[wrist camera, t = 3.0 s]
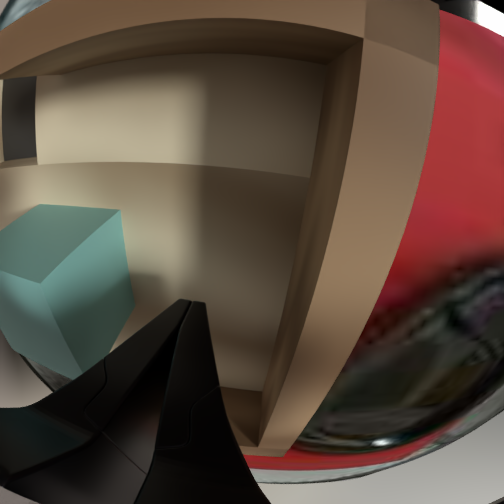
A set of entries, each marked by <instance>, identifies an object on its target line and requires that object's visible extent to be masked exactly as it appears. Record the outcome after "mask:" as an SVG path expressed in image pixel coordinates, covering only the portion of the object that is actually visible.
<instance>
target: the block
mask: <svg viewBox="0 0 504 504" xmlns="http://www.w3.org/2000/svg"><path fill="white" fill-rule="evenodd" d="M134 308H135V301H134V296H133V291H132V286H131V281H130V275H129V269H128V263H127V257H126V250H125V243H124V236H123V228H122V219H121V210H118V209H106V208H93V207H80V206H65V205H50V204H39V205H37V206H36V207H34V208H33V209H31V210H30V211H28V212H27V213H25V214H24V215H22V216H21V217H19V218H18V219H16V220H15V221H13V222H12V223H10V224H9V225H8V226H6V227H5V228H4V229H2V230H1V231H0V329H1V331H2V333H3V334H4V336H5V337H6V339H7V341H8V342H9V344H10V346H11V347H12V349H13V350H15V351H17V352H18V353H20V354H22V355H24V356H25V357H27V358H29V359H31V360H33V361H35V362H36V363H38V364H40V365H42V366H44V367H46V368H48V369H50V370H52V371H55V372H57V373H59V374H61V375H63V376H65V377H68V378H70V379H72V380H74V379H75V378H77V377H78V376H80V375H81V374H83V373H84V372H85V371H87V370H88V369H89V368H91V367H92V366H93V365H95V364H96V363H97V362H99V361H100V360H101V359H104V357H105V356H106V355H108V354H109V352H110V350H111V349H112V347H113V345H114V343H115V341H116V339H117V338H118V336H119V334H120V332H121V330H122V329H123V327H124V325H125V323H126V321H127V320H128V318H129V316H130V314H131V313H132V311H133V309H134Z"/></svg>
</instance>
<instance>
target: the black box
mask: <svg viewBox="0 0 504 504" xmlns="http://www.w3.org/2000/svg"><path fill="white" fill-rule="evenodd" d="M430 1H432V2H434V3H436V4H438V5H439V9H440V10H443V11H446V12H449V13H452V14H454V15H457V16H460V17H462V18H465V19H467V20H470V21H472V22H474V23H477V24H479V25H481V26H483V27H486V28H488V29H490V30H492V31H494V32H496V33H498V34H500V35H502V36H504V0H430Z"/></svg>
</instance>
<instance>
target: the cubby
mask: <svg viewBox="0 0 504 504" xmlns="http://www.w3.org/2000/svg"><path fill="white" fill-rule="evenodd" d="M439 47H440V16H439V5H438V4H436V3H434V2H432V1H430V0H51V1H49V2H47V3H45V4H43V5H42V6H40V7H38V8H36V9H34V10H33V11H31V12H29V13H28V14H26V15H24V16H23V17H21V18H19V19H18V20H16V21H15V22H13V23H12V24H10V25H9V26H7V27H6V28H4V29H3V30H1V31H0V80H3V79H10V78H19V77H29V76H44V75H62V74H66V73H69V72H73V71H76V70H80V69H84V68H88V67H93V66H97V65H102V64H107V63H112V62H117V61H123V60H129V59H136V58H144V57H153V56H163V55H176V54H201V53H221V54H246V55H259V56H270V57H278V58H286V59H293V60H300V61H306V62H312V63H317V64H322V65H326V74H325V82H324V90H323V97H322V104H321V112H320V118H319V125H318V132H317V138H316V145H315V151H314V157H313V163H312V169H311V175H310V180H309V186H308V192H307V197H306V203H305V208H304V213H303V218H302V224H301V229H300V234H299V239H298V244H297V248H296V253H295V258H294V263H293V267H292V272H291V277H290V281H289V286H288V290H287V294H286V299H285V303H284V307H283V312H282V316H281V320H280V324H279V328H278V333H277V337H276V341H275V345H274V349H273V353H272V356H271V360H270V364H269V368H268V372H267V376H266V379H265V383H264V387H263V390H262V391H253V390H244V389H237V388H229V387H223V386H220V388H221V392H222V397H223V401H224V405H225V409H226V413H227V416H228V419H229V422H230V424H231V427H232V430H233V432H234V435H235V437H236V440H237V442H238V444H239V447H240V449H241V451H242V454H247V455H258V456H274V457H283V456H284V454H285V453H286V452H287V451H288V449H289V448H290V447H291V445H292V444H293V443H294V441H295V440H296V439H297V437H298V436H299V434H300V433H301V432H302V430H303V429H304V427H305V426H306V425H307V423H308V422H309V420H310V419H311V417H312V416H313V414H314V413H315V411H316V410H317V408H318V407H319V405H320V404H321V402H322V401H323V399H324V398H325V396H326V394H327V393H328V391H329V390H330V388H331V386H332V385H333V383H334V381H335V380H336V378H337V376H338V375H339V373H340V371H341V369H342V368H343V366H344V364H345V362H346V361H347V359H348V357H349V355H350V353H351V351H352V350H353V348H354V346H355V344H356V342H357V340H358V338H359V336H360V334H361V332H362V330H363V328H364V326H365V324H366V322H367V320H368V318H369V316H370V314H371V312H372V310H373V307H374V305H375V303H376V301H377V299H378V296H379V294H380V292H381V290H382V287H383V285H384V283H385V280H386V278H387V275H388V273H389V270H390V268H391V265H392V263H393V260H394V258H395V255H396V252H397V250H398V247H399V244H400V241H401V238H402V236H403V233H404V230H405V227H406V224H407V221H408V218H409V214H410V211H411V208H412V205H413V201H414V198H415V194H416V191H417V187H418V183H419V180H420V176H421V172H422V168H423V163H424V159H425V155H426V150H427V145H428V140H429V135H430V130H431V124H432V118H433V112H434V105H435V97H436V89H437V79H438V66H439Z"/></svg>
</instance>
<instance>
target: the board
mask: <svg viewBox="0 0 504 504" xmlns="http://www.w3.org/2000/svg"><path fill="white" fill-rule="evenodd" d="M325 74H326V65H322V64H317V63H312V62H306V61H300V60H293V59H286V58H278V57H270V56H259V55H246V54H221V53H201V54H176V55H163V56H153V57H144V58H136V59H129V60H123V61H117V62H112V63H107V64H102V65H97V66H93V67H88V68H84V69H80V70H76V71H73V72H69V73H66V74H62V75H44V76H29V77H19V78H10V79H3V80H0V231H1V230H2V229H4V228H5V227H6V226H8V225H9V224H10V223H12V222H13V221H15V220H16V219H18V218H19V217H21V216H22V215H24V214H25V213H27V212H28V211H30V210H31V209H33V208H34V207H36V206H37V205H39V204H50V205H65V206H80V207H93V208H106V209H118V210H121V219H122V228H123V236H124V243H125V250H126V257H127V263H128V269H129V275H130V281H131V286H132V291H133V296H134V301H135V308H134V309H133V311H132V313H131V314H130V316H129V318H128V320H127V321H126V323H125V325H124V327H123V329H122V330H121V332H120V334H119V336H118V338H117V339H116V341H115V343H114V345H113V347H112V349H111V350H110V352H111V351H113V350H114V349H115V348H117V347H118V346H119V345H120V344H122V343H123V342H124V341H125V340H127V339H128V338H129V337H131V336H132V335H133V334H134V333H136V332H137V331H138V330H139V329H141V328H142V327H143V326H145V325H146V324H147V323H148V322H150V321H151V320H152V319H154V318H155V317H156V316H157V315H159V314H160V313H161V312H163V311H164V310H165V309H166V308H168V307H169V306H170V305H172V304H173V303H174V302H175V301H177V300H178V299H180V298H182V299H188V300H191V301H192V302H193V301H201V302H205V303H206V307H207V314H208V320H209V326H210V333H211V338H212V344H213V350H214V356H215V361H216V367H217V372H218V377H219V382H220V386H223V387H229V388H237V389H244V390H253V391H262V390H263V387H264V383H265V379H266V376H267V372H268V368H269V364H270V360H271V356H272V353H273V349H274V345H275V341H276V337H277V333H278V328H279V324H280V320H281V316H282V312H283V307H284V303H285V299H286V294H287V290H288V286H289V281H290V277H291V272H292V267H293V263H294V258H295V253H296V248H297V244H298V239H299V234H300V229H301V224H302V218H303V213H304V208H305V203H306V197H307V192H308V186H309V180H310V175H311V169H312V163H313V157H314V151H315V145H316V138H317V132H318V125H319V118H320V112H321V104H322V97H323V90H324V82H325ZM110 352H109V353H110Z"/></svg>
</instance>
